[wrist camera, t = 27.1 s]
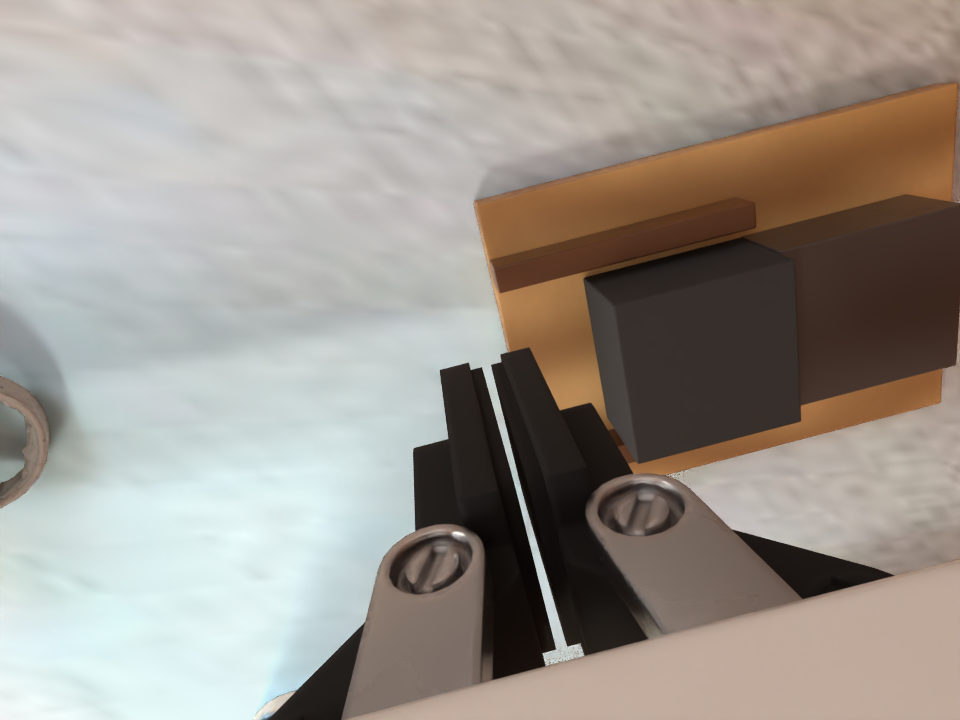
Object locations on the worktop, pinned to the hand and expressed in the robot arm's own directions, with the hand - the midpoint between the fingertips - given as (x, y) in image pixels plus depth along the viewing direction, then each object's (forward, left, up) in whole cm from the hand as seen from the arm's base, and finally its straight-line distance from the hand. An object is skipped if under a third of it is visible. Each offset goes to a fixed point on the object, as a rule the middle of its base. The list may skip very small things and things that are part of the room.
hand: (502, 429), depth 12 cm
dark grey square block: (+5, +8, -14) cm, 17 cm away
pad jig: (+5, +11, -15) cm, 19 cm away
